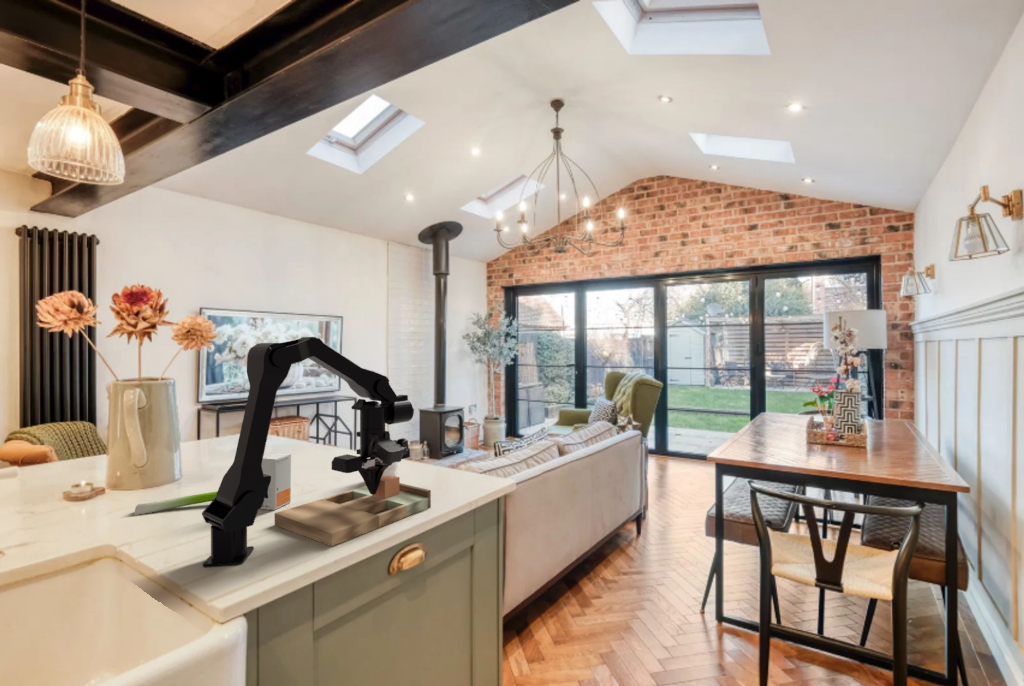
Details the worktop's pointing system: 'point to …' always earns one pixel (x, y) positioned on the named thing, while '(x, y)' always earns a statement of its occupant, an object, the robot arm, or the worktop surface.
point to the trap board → (352, 513)
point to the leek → (174, 503)
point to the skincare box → (277, 480)
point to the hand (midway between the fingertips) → (373, 494)
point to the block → (388, 486)
